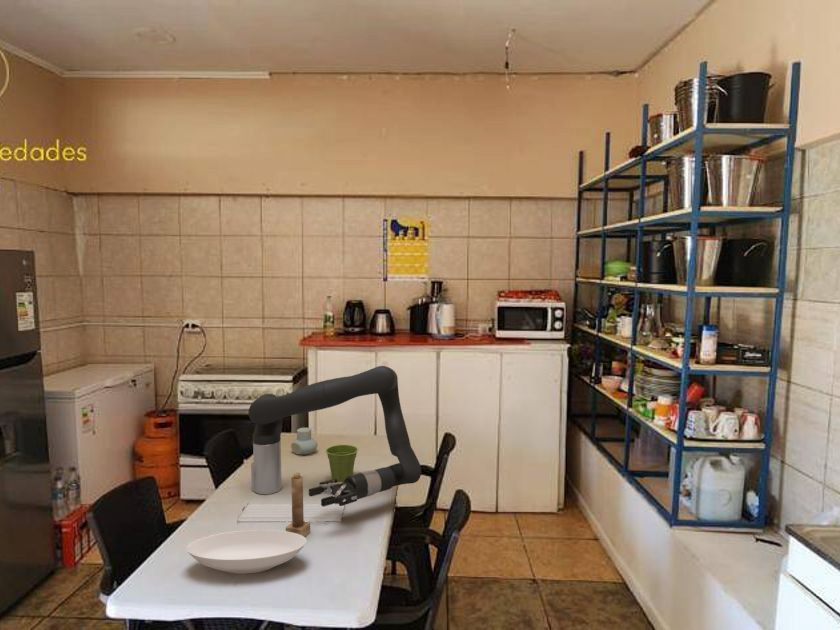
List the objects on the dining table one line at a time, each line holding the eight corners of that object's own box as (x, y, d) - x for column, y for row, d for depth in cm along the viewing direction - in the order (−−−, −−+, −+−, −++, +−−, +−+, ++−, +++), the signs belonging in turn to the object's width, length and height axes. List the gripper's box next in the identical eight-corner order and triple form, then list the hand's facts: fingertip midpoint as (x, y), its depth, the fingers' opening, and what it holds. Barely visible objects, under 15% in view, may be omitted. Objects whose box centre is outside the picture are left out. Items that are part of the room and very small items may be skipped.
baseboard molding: (340, 526, 161) (345, 508, 173) (339, 516, 160) (345, 499, 172) (236, 526, 160) (249, 509, 172) (236, 517, 160) (248, 500, 172)
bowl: (177, 586, 129) (176, 561, 129) (198, 553, 144) (197, 531, 144) (302, 581, 131) (301, 557, 131) (310, 549, 146) (310, 528, 146)
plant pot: (348, 488, 187) (348, 456, 186) (319, 482, 192) (319, 452, 191) (364, 475, 198) (364, 446, 197) (336, 471, 203) (336, 442, 202)
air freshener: (320, 453, 223) (320, 429, 222) (304, 458, 217) (303, 434, 216) (304, 447, 230) (304, 424, 230) (288, 452, 224) (288, 429, 223)
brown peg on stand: (285, 537, 152) (284, 475, 151) (296, 528, 158) (295, 469, 156) (300, 540, 151) (299, 478, 149) (311, 531, 156) (310, 471, 154)
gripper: (351, 466, 171) (304, 477, 162) (375, 480, 160) (325, 493, 150) (352, 488, 172) (305, 501, 162) (375, 504, 160) (326, 519, 151)
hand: (315, 497), depth 156 cm, fingers open, 8 cm apart
